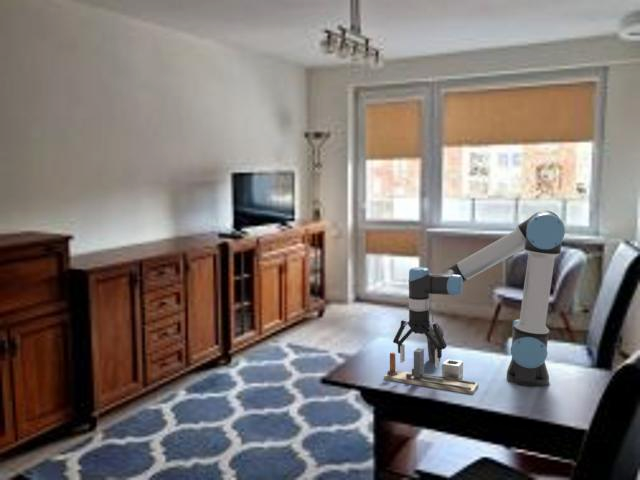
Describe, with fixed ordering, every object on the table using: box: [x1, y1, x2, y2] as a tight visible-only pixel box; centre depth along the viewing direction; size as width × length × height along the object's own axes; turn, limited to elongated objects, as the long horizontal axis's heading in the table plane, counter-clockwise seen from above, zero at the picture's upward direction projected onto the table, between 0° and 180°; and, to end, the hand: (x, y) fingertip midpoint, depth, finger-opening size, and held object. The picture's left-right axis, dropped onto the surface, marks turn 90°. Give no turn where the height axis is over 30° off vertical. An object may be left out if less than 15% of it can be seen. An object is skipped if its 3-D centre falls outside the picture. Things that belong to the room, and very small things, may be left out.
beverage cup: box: [426, 313, 445, 364], centre depth 240 cm, size 7×7×20 cm
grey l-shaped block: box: [413, 347, 443, 381], centre depth 216 cm, size 11×5×10 cm, turn 62°
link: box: [441, 358, 464, 380], centre depth 221 cm, size 6×6×6 cm
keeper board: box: [383, 352, 479, 395], centre depth 216 cm, size 34×8×9 cm, turn 62°
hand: (419, 363), depth 218 cm, fingers open, 13 cm apart
